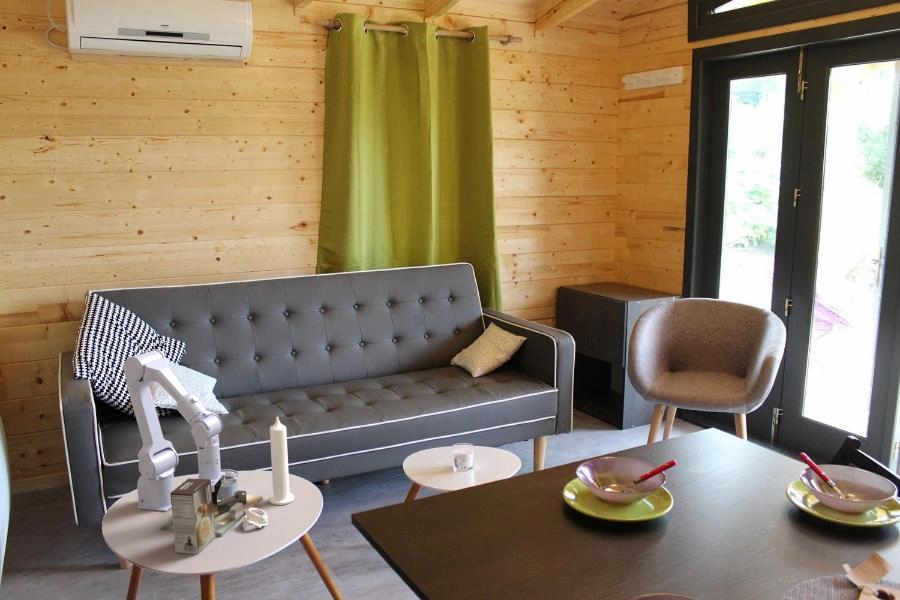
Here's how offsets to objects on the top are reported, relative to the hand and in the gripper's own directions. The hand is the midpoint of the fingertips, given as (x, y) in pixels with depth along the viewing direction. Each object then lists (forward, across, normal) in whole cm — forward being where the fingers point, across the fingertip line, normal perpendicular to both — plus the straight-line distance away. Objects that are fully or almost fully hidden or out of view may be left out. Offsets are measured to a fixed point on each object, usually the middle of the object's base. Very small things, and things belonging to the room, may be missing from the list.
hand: (212, 506), depth 208 cm
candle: (+3, +4, -19) cm, 19 cm away
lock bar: (+1, 0, -4) cm, 4 cm away
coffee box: (+3, -16, +4) cm, 17 cm away
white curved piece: (+3, -9, -11) cm, 15 cm away
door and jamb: (+2, +1, 0) cm, 3 cm away
